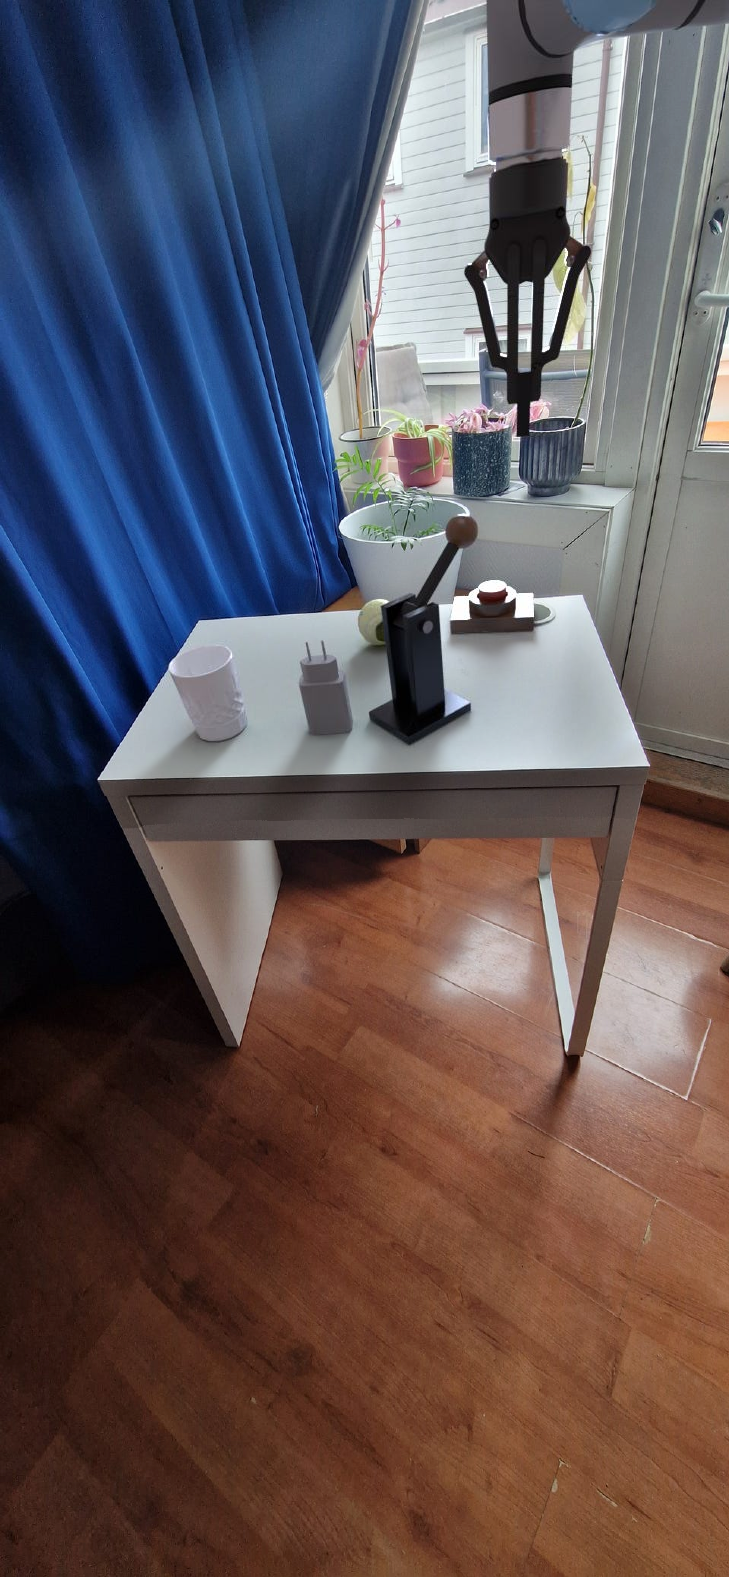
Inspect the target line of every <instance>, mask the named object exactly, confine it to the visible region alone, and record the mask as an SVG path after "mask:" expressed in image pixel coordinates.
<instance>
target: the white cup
mask: <svg viewBox="0 0 729 1577" xmlns="http://www.w3.org/2000/svg"><path fill="white" fill-rule="evenodd" d="M167 669H168V672H169V674H170V677H171V679H172V681H173V684H174V686H175V688H176V690H177V694H178V695H179V698H180V700H181V702H182V704H183V707H184V709H185V711H186V713H187V715H188V718H189V719H190V721H191V723H192V725H193V728H194V730H195V733H196V734H197V735H198V737H199V738H200V739H201V740H204V741H208V742H223V741H225V740H229V739H232V738H233V737H236V736H237V735H238V734H240V733H242V732H243V730H244V729H245V728H246V727H247V722H248V718H247V714H246V709H245V706H244V704H245V703H244V698H243V694H242V689H241V685H240V680H239V677H238V671H237V668H236V665H235V660H234V656H233V652H232V650H231V649H230V648H229V647H227V646H225V645H221V644H205V645H199V646H195V647H192V648H189V649H187V650H185V651H182V652H181V653H179V654H178V655H176V656H175V657H174V658H173V659H172V660H171V661H170V662H169V664H168V668H167Z"/></svg>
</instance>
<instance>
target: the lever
mask: <svg viewBox="0 0 729 1577" xmlns="http://www.w3.org/2000/svg"><path fill="white" fill-rule="evenodd" d="M444 534H445V538H446V541H447V543H446V545H445V547H444V548H443V550H442V552H441V554H440V555H439V556H438V559H437V561H436V562H435V564H434V566H433V568H432V569H431V571H430V573H429V575H428V576H427V578H426V580H425V581H424V583H423V584H422V587H421V588H420V590H419V591H418V594H417V595H416V599H415V601H414V602H413V604H410V603H408V602H404V604H403V606H402V608H401V609H400V611H399V613H398V615H397V616H396V618H395V620H394V622H393V624H394V625H395V626H397V627H398V628H400V629H401V630H402V631H404V622H403V616H404V615H406V614H408V613H410V612H412V611H414V610H416V609H419V608H421V607H423V606H425V605H427V604H429V602H430V600H431V598H432V597H433V595H434V593H435V592H436V590H437V588H438V587H439V585H440V583H441V581H442V580H443V578H444V576H445V574H446V572H447V571H448V569H449V567H450V565H451V564H452V562H453V560H454V559H455V557H456V555H457V554H458V552H459V551H460V550H463V549H467V548H469V547H470V546H472V545H473V544H475V542H476V540H477V539H478V535H479V526H478V523H477V521H476V520H475V518H474V517H473V516H471V515H470V514H466V513H459V514H456V515H454V516H452V517H451V518H450V519H449V520H448V522H447V524H446V526H445V533H444ZM404 632H405V631H404Z"/></svg>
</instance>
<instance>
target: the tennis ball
mask: <svg viewBox="0 0 729 1577" xmlns="http://www.w3.org/2000/svg"><path fill="white" fill-rule="evenodd" d="M388 602H390V601H389V600H387V599H383V598H375V599H372V600H370V601H368V602H367V603H365V604H364V605H363V606H362V608H361V610H360V612H359V614H358V616H357V628H358V631H359V633H360V634H361V636H362V638H363V639H364V640H365V641H367V642H368V643H370V644H371V645H374V646H375V647H377V646H385V645H386V644H385V636H384V628H383V620H382V612H381V606H382V605H384V604H386V603H388Z"/></svg>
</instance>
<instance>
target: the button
mask: <svg viewBox="0 0 729 1577" xmlns="http://www.w3.org/2000/svg"><path fill="white" fill-rule="evenodd" d="M506 586H507V584H506V583H505V582H504V581H501V580H488V581H484V582H481V583H480V584H479V585H478V588H479V600H480V601H485V602H497V601H500V600H503V599H505V598H506Z"/></svg>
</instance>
